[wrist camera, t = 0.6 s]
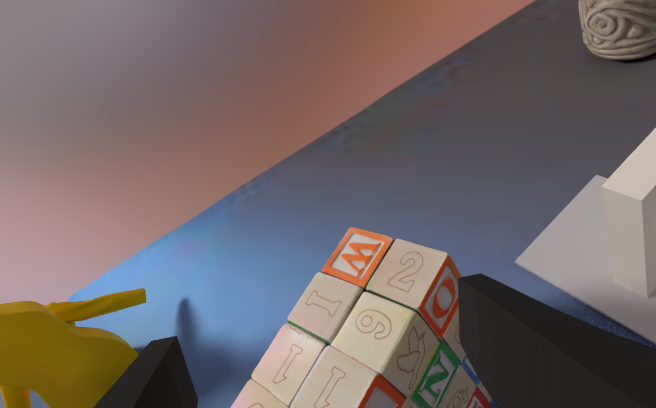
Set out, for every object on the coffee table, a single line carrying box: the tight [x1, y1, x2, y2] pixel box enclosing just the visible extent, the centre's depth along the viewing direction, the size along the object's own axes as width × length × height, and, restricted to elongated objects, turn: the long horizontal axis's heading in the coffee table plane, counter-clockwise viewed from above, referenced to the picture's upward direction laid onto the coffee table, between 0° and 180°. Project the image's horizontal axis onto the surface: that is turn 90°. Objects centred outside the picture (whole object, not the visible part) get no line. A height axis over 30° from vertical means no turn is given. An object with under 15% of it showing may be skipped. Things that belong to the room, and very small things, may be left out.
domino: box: [601, 128, 656, 298], centre depth 22 cm, size 2×5×9 cm, turn 124°
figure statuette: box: [0, 288, 146, 408], centre depth 37 cm, size 18×8×22 cm, turn 143°
